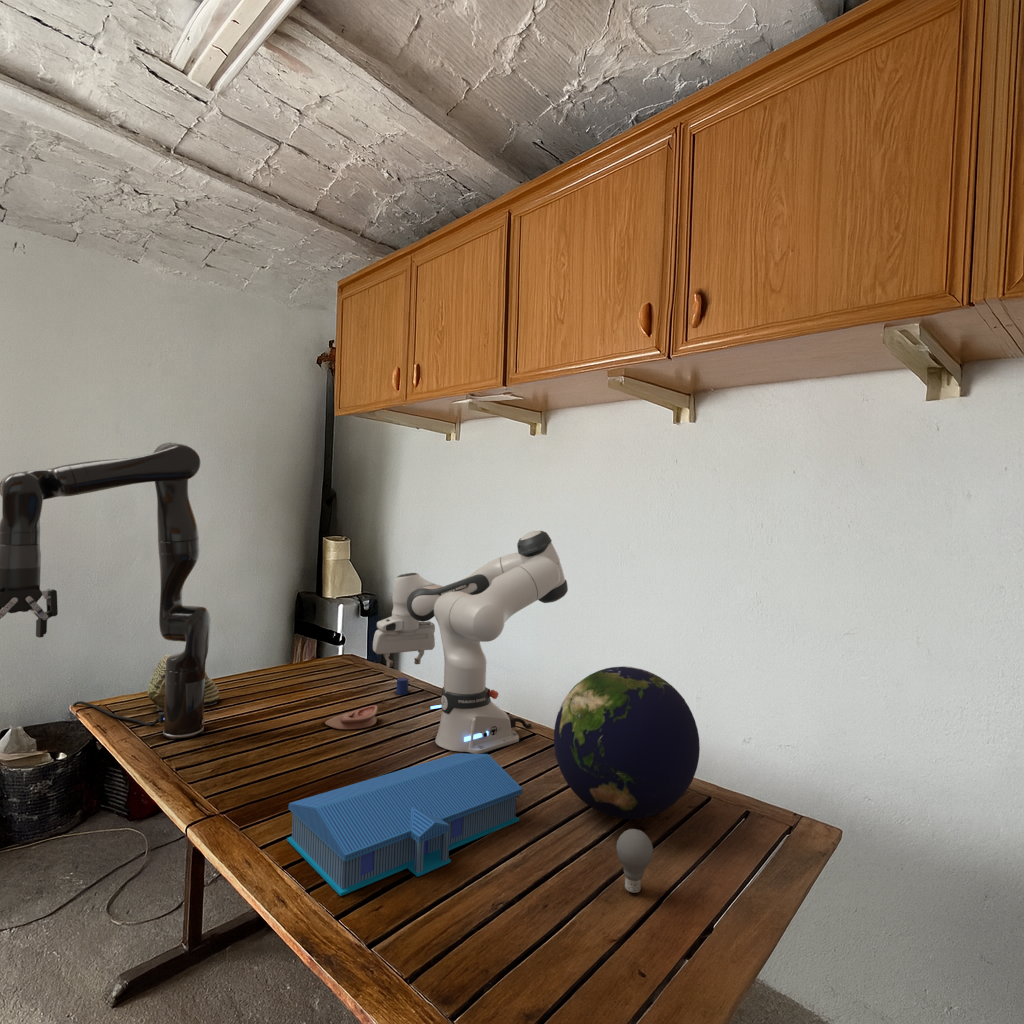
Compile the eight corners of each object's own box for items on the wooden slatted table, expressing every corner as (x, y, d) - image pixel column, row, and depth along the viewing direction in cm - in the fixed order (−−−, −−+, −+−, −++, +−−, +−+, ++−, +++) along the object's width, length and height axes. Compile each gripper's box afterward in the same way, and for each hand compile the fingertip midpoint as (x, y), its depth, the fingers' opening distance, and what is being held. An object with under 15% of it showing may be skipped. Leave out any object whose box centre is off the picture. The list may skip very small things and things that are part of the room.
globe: (530, 827, 125) (537, 675, 124) (573, 769, 152) (579, 645, 152) (686, 866, 113) (694, 700, 113) (702, 796, 141) (709, 663, 141)
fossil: (144, 707, 182) (145, 655, 182) (212, 696, 194) (213, 647, 194) (151, 716, 175) (153, 662, 175) (221, 703, 188) (223, 653, 188)
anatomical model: (320, 712, 173) (339, 699, 184) (319, 726, 173) (339, 713, 184) (365, 717, 170) (382, 704, 181) (364, 732, 170) (381, 718, 181)
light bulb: (610, 879, 108) (613, 822, 108) (644, 879, 109) (647, 822, 109) (619, 902, 102) (622, 840, 102) (655, 901, 103) (658, 840, 103)
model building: (350, 906, 98) (352, 842, 98) (285, 839, 117) (287, 785, 116) (531, 827, 125) (533, 776, 125) (455, 782, 143) (457, 738, 143)
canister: (405, 695, 204) (406, 681, 204) (394, 694, 205) (395, 680, 205) (409, 691, 208) (409, 677, 208) (398, 691, 208) (399, 676, 208)
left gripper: (-16, 568, 128) (-18, 648, 129) (64, 564, 140) (62, 637, 140) (-30, 565, 132) (-32, 642, 133) (49, 561, 144) (47, 632, 145)
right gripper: (431, 619, 213) (429, 660, 213) (372, 622, 203) (370, 665, 203) (438, 622, 208) (437, 664, 208) (377, 626, 198) (376, 670, 198)
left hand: (16, 639), depth 137 cm, fingers open, 8 cm apart
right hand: (403, 665), depth 206 cm, fingers open, 8 cm apart
